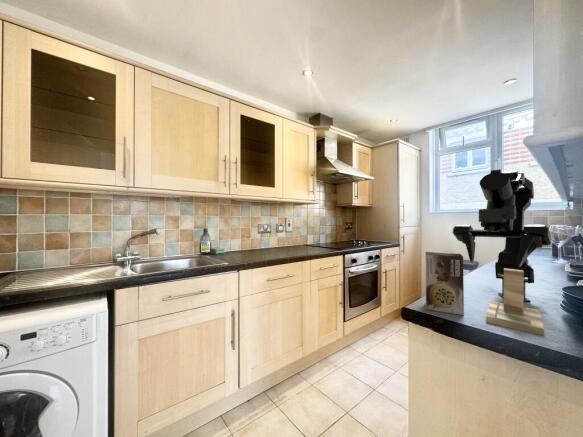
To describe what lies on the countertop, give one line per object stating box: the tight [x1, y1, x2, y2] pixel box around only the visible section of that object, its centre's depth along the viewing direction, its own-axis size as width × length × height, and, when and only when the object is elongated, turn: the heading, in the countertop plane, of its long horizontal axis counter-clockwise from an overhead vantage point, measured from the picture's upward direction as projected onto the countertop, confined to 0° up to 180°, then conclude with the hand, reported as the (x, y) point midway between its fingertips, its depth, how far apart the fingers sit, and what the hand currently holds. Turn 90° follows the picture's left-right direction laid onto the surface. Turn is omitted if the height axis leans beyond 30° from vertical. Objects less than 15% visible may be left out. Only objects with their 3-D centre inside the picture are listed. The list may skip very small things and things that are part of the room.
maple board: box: [485, 300, 545, 337], centre depth 61 cm, size 16×10×2 cm, turn 136°
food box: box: [425, 251, 465, 316], centre depth 68 cm, size 9×6×16 cm
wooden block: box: [503, 268, 525, 316], centre depth 63 cm, size 6×4×11 cm, turn 136°
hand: (493, 263), depth 59 cm, fingers open, 9 cm apart
